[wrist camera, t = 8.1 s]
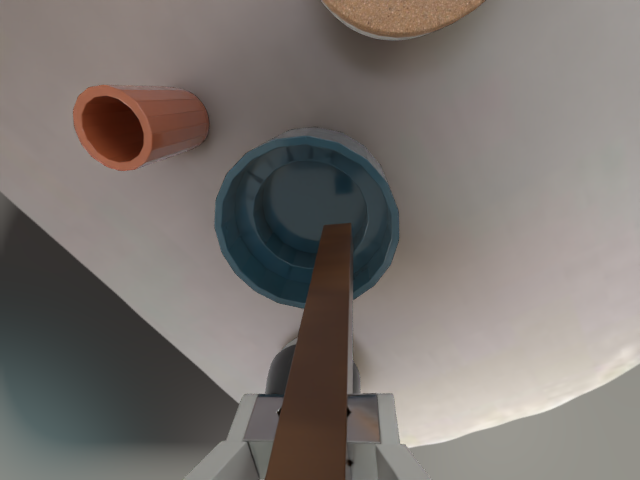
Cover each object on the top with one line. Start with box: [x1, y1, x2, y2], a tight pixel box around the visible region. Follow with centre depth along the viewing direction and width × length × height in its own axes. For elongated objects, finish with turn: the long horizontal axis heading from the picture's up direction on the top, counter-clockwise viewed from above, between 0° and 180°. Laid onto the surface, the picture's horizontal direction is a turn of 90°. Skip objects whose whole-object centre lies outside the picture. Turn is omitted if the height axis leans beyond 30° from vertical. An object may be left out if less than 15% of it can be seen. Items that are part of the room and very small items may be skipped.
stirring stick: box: [265, 223, 353, 480], centre depth 15 cm, size 2×2×18 cm
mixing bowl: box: [214, 127, 399, 308], centre depth 27 cm, size 14×14×7 cm
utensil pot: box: [73, 85, 209, 171], centre depth 24 cm, size 5×5×9 cm
